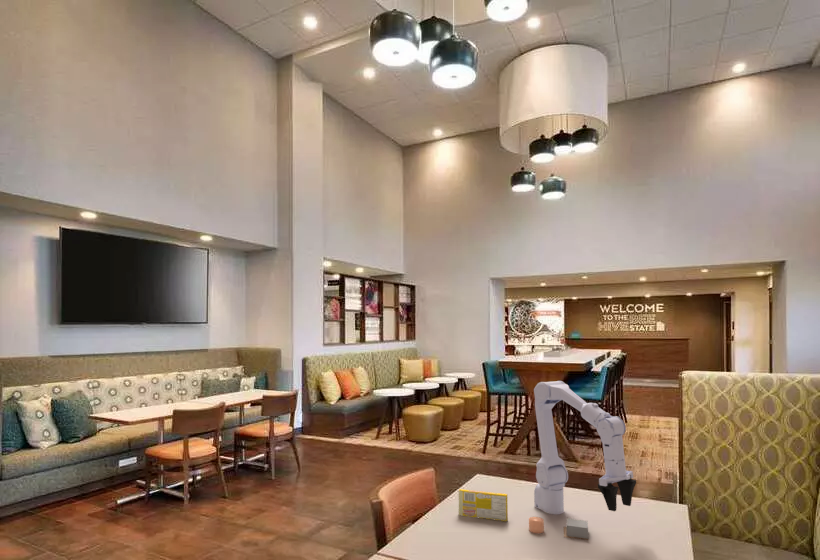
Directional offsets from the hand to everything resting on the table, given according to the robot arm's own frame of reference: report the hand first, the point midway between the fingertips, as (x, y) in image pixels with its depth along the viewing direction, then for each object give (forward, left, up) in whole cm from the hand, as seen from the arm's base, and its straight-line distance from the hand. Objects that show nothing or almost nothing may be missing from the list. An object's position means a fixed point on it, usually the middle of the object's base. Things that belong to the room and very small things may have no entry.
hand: (619, 507), depth 145 cm
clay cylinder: (-17, -16, -10) cm, 26 cm away
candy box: (-36, -21, -11) cm, 44 cm away
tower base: (-9, -7, -11) cm, 16 cm away
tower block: (-9, -7, -9) cm, 15 cm away
